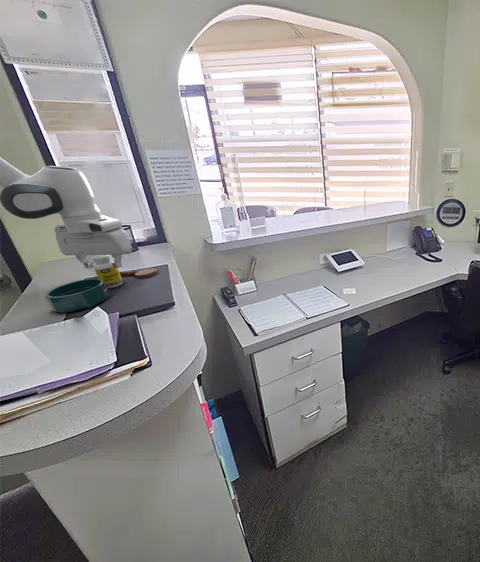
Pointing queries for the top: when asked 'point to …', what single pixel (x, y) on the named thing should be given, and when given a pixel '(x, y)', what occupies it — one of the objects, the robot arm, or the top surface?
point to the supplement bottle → (107, 271)
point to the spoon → (139, 273)
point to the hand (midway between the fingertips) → (104, 267)
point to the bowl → (77, 295)
